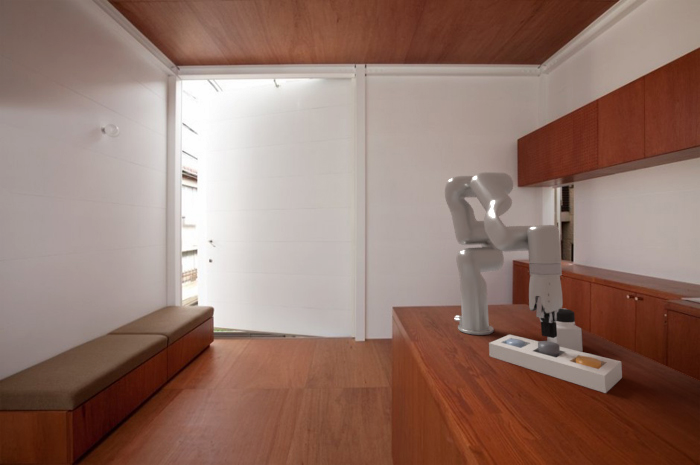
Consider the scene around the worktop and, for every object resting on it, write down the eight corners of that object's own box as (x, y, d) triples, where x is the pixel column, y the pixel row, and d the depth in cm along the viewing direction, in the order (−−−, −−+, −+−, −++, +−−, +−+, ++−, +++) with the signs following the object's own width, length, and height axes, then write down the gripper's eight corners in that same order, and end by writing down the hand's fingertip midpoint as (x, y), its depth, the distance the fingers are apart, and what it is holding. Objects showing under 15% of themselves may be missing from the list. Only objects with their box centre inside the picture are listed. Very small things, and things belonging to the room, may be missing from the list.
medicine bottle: (583, 351, 93) (581, 312, 93) (557, 351, 94) (555, 312, 94) (571, 343, 100) (569, 306, 100) (547, 343, 101) (545, 306, 101)
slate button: (503, 352, 92) (503, 341, 92) (512, 348, 95) (511, 337, 95) (520, 357, 88) (520, 345, 88) (529, 353, 91) (528, 341, 91)
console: (489, 356, 92) (488, 343, 93) (510, 346, 99) (509, 334, 99) (605, 393, 69) (604, 375, 69) (622, 377, 76) (621, 361, 76)
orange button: (573, 373, 78) (572, 359, 78) (580, 367, 80) (580, 354, 80) (597, 380, 74) (596, 366, 74) (604, 374, 76) (603, 360, 76)
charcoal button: (535, 356, 85) (534, 343, 85) (543, 351, 88) (542, 339, 88) (555, 362, 81) (554, 348, 81) (563, 357, 84) (562, 344, 84)
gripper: (542, 266, 92) (546, 328, 91) (517, 271, 83) (521, 339, 83) (571, 267, 86) (576, 333, 85) (547, 273, 77) (552, 346, 77)
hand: (549, 336), depth 84 cm, fingers closed
